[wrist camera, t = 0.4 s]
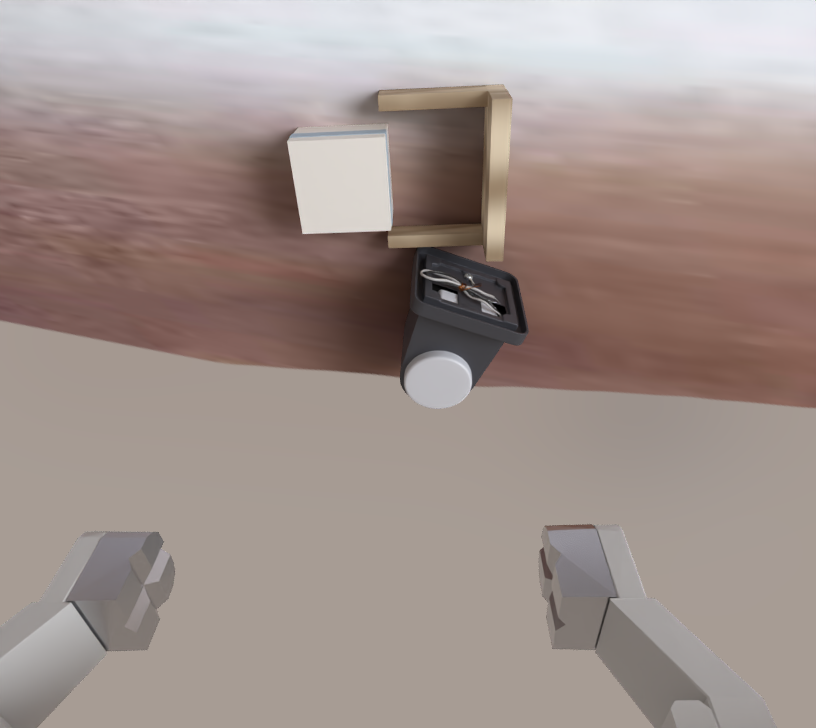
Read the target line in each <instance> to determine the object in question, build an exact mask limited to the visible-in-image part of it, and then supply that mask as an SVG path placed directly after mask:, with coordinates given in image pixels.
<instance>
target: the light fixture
mask: <svg viewBox="0 0 816 728" xmlns="http://www.w3.org/2000/svg"><path fill="white" fill-rule="evenodd" d="M528 332H529V331H528V325H527V320H526V316H525V311H524V306H523V302H522V297H521V293H520V288H519V284H518V280H517V279H516V278H515V277H514V276H513V275H511V274H510V273H507V272H505V271H502V270H499V269H496V268H493V267H490V266H487V265H484V264H481V263H478V262H475V261H472V260H469V259H466V258H463V257H460V256H457V255H454V254H451V253H448V252H445V251H442V250H439V249H436V248H433V247H417V250H416V253H415V255H414V258H413V267H412V280H411V294H410V310H409V313H408V316H407V319H406V323H405V327H404V336H403V348H402V360H401V372H400V382H401V386H402V388H403V390H404V391H405V393H407V394H408V395H409V397H410V398H411V399H412V400H413V401H415V402H416V403H418V404H420V405H422V406H424V407H428V408H434V409H435V408H436V409H441V408H448V407H451V406H454V405H456V404H458V403H459V402H461V401H462V400H463V399H465V398H466V396H467V395H468V394H469V392H470V391H471V390H472V388H473V387H474V386H475V384H476V383H477V381H478V380H479V378H480V377H481V375H482V374H483V373H484V371H485V370H486V368H487V367H488V365H489V364H490V362H491V361H492V359H493V358H494V357H495V355H496V354H497V352H498V351H499V349H500V348H501V346H502V345H503V343H504V342H505V343H509V344H512V345H521V344H522V342H523V341H524V339H525V337H526V336H527V334H528Z"/></svg>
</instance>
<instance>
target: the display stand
mask: <svg viewBox="0 0 816 728" xmlns="http://www.w3.org/2000/svg"><path fill="white" fill-rule="evenodd" d="M378 107H379V111H401V110H424V109H446V108H468V107H485V117H484V149H483V180H482V211H481V223H479V224H450V225H422V226H393V227H391V231H388V247H389V248H410V247H440V246H470V245H483V248H484V253H485V258H486V262H488V261H503V252H504V235H505V218H506V201H507V184H508V166H509V149H510V132H511V115H512V97H511V96H510V94H509V92H508V91H507V89H506V88H505V86H504V85H482V86H461V87H439V88H418V89H396V90H380V91H379V93H378Z"/></svg>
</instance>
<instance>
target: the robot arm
mask: <svg viewBox="0 0 816 728" xmlns="http://www.w3.org/2000/svg"><path fill="white" fill-rule="evenodd" d="M542 541H543V546H544V547H543V548H542V549H541V550H540V553H539V578H540V585H541V591H542V596H543V597H544V598H545V600H547V602H548V608H547V615H546V618H547V624H548V628H549V634H550V639H551V644H552V649H578V650H596V651H595V652H596V654H597V655H598V656H599V658H600V659H601V660H602V661H603V663H604V664H605V665H606V667H607V668H608V669H609V670H610V672H611V673H612V674H613V675H614V677H615V678H616V679H617V681H618V682H619V683H620V684H621V686H622V687H623V688H624V689H625V691H626V692H627V693H628V695H629V696H630V697H631V698H632V700H633V701H634V702H635V703H636V705H637V706H638V707H639V709H641V711H642V712H643V714H644V715H645V716H646V717H647V719H648V720H649V721H650V723H651V724H652V725H653V726H654V728H777V727H776V725H775V723H774V721H773V718H772V716H771V714H770V712H769V710H768V708H767V706H766V703H765V701H764V699H763V698H762V697H761V696H760V695H759V694H758V693H757V692H756V691H754V690H753V689H752V688H751V687H750V686H749V685H748V684H747V683H746V682H745V681H744V680H743V679H742V678H740V677H739V676H738V675H737V674H736V673H735V672H734V671H733V670H732V669H731V668H729V667H728V666H727V665H726V664H725V663H724V662H723V661H722V660H721V659H720V658H719V657H718V656H717V655H716V654H714V653H713V652H712V651H711V650H710V649H709V648H708V647H707V646H706V645H705V644H704V643H703V642H702V641H700V640H699V639H698V638H697V637H696V636H695V635H694V634H693V633H692V632H691V631H690V630H689V629H687V628H686V627H685V626H684V625H683V624H682V623H681V622H680V621H679V620H678V619H677V618H676V617H675V616H673V615H672V614H671V613H670V612H669V611H668V610H667V609H666V608H665V607H664V606H663V605H661V603H659V602H658V601H657V600H656V599H655V598H647V597H646V594H645V591H644V588H643V585H642V582H641V580H640V577H639V574H638V571H637V569H636V566H635V563H634V560H633V557H632V554H631V552H630V549H629V546H628V543H627V541H626V538H625V535H624V532H623V529H622V528H621V527H620V526H619V525H591V524H590V525H557V526H556V525H555V526H554V525H553V526H544V528H543V531H542ZM163 542H164V541H163V540H162V538H161V536H160V534H159V532H110V531H109V532H85V533H84V534H82V535H81V536H80V537H79V538H78V539H77V540H76V542H75V544H74V545H73V547H72V549H71V550H70V552H69V553H68V555H67V557H66V558H65V560H64V562H63V563H62V565H61V567H60V568H59V570H58V571H57V573H56V575H55V576H54V578H53V579H52V581H51V583H50V584H49V586H48V588H47V589H46V591H45V593H44V594H43V596H42V597H41V599H40V601H39V602H34V603H30V604H29V605H28V606H26V607H25V608H24V609H22V610H21V611H20V612H18V613H17V614H16V615H14V616H13V617H12V618H11V619H9V620H8V621H7V622H5V623H4V624H3V625H1V626H0V728H37V727H38V726H39V725H40V724H41V723H42V722H43V721H44V720H45V719H46V718H47V717H48V716H49V714H51V712H52V711H53V710H54V709H55V708H56V707H57V706H58V705H59V704H60V703H61V702H62V701H63V700H64V699H65V698H66V697H67V696H68V695H69V694H70V693H71V691H72V690H73V689H74V688H75V687H76V686H77V685H78V684H79V683H80V682H81V681H82V680H83V679H84V678H85V677H86V676H87V675H88V674H89V672H90V671H91V670H92V669H93V668H94V667H95V666H96V665H97V664H98V663H99V662H100V661H101V660H102V659H103V658H104V657H105V656H106V654H107V652H106V651H127V650H129V651H130V650H147V649H148V647H149V644H150V642H151V639H152V637H153V635H154V632H155V630H156V627H157V625H158V623H159V620H160V618H159V615H158V611H157V608H159V607H160V606H161V605H162V604H163V603H164V602H165V601H166V600H167V599H168V598H169V595H170V593H171V590H172V587H173V583H174V576H175V568H174V562H173V560H172V558H171V555H170V554H168V553H167V552H165V551H164V550H162V549H161V547H162V545H163Z"/></svg>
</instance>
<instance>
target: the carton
mask: <svg viewBox="0 0 816 728" xmlns="http://www.w3.org/2000/svg"><path fill="white" fill-rule="evenodd" d="M287 144H288V150H289V156H290V162H291V168H292V173H293V179H294V185H295V191H296V197H297V203H298V209H299V215H300V221H301V227H302V233H303V234H315V233H342V232H369V231H391V226H392V223H393V198H392V183H391V168H390V152H389V137H388V123H382V124H361V125H339V126H317V127H298V128H297V129H296V131H295V132H294V133H293V134H291V136H290V137H289V140H288V141H287Z"/></svg>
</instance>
